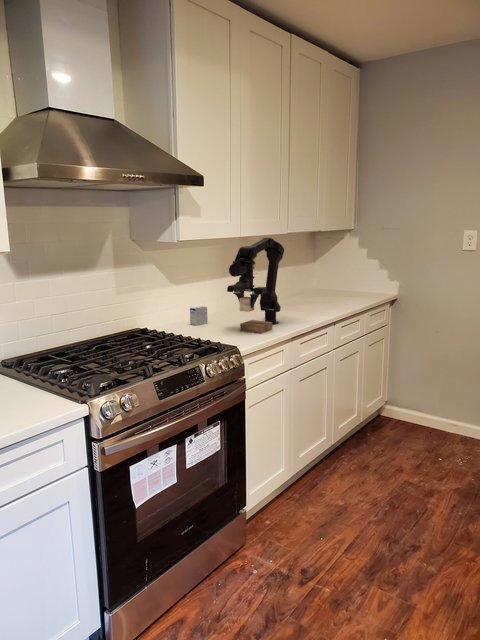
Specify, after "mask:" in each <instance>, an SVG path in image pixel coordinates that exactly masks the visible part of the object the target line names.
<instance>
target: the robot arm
mask: <svg viewBox="0 0 480 640" xmlns="http://www.w3.org/2000/svg"><path fill="white" fill-rule="evenodd" d="M262 251H264V252H266V258H267V261H268V265H267V273H266V282H265V286H257V287H255V284H254V279H255V276H254V265H256V262H255V261H254V260H255V258H257V256H258V254H259V253H261V252H262ZM284 253H285V248H284V246H283V245H282V244H281V243H279V242H278V241H276V240H274V238H272V237H263V238H262V239H261V240H259V241H257V242H255V243H253V244H251V245H245V246H241V247H239V249H238V251H237V253H236V255H235V258H234V260H233V261H232V264H231V265H230V266H229V267H228V273H229V274H230V276H231V277H233V278H234V277H239V278H238V281H237V282H235V283H234V284H230V285H228V286H227V288H226V292H227V293H233V295H235V296H236V297H237V299H238V302H239V303H240V298H242V297H245V292H249V293H250V292H251V293H250V294H249V297H251V308H253V307H254V308H255V304H256V302H257V300H258V298H259V296H260V298H259V305H260V311H261V312H264V321H267V322H272V325H275V324H278V323H279V322H280V321H279V320H278V321H277V313H279V312H280V311H281V305H280V304H279V303H280V302H278V296H277V293H276V288H277V287H276V286H277V280H278V279H277V278H278V270H279V265H280V262H281V261H282V259H283V257H284Z"/></svg>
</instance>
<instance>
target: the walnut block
mask: <svg viewBox="0 0 480 640" xmlns="http://www.w3.org/2000/svg"><path fill="white" fill-rule="evenodd" d="M239 327H240V332H244V333H251V334H257V335H258V334H259V335H262V334H264V333H267V332H269V331H273V324H272V322H267V321H265V320H259V319H258V320H257V319H251V320H248V321H244V322H241V323H240V325H239Z"/></svg>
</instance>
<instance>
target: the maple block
mask: <svg viewBox="0 0 480 640" xmlns="http://www.w3.org/2000/svg"><path fill="white" fill-rule="evenodd" d="M239 311H240V312H246V313H247V312H248V313H249V312H253V311H255V306H254V307H253V308H251V296H244V297H242V298H240V302H239Z"/></svg>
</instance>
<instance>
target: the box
mask: <svg viewBox="0 0 480 640" xmlns="http://www.w3.org/2000/svg"><path fill="white" fill-rule="evenodd" d="M189 323H190V325H191V326H196V327H197V326H201V325H205V324H208V323H209V321H208V307H207V306H205V305H204V306H203V305H202V306H201V305H200V306H196V307H194V306H193V307H190V308H189Z"/></svg>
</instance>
